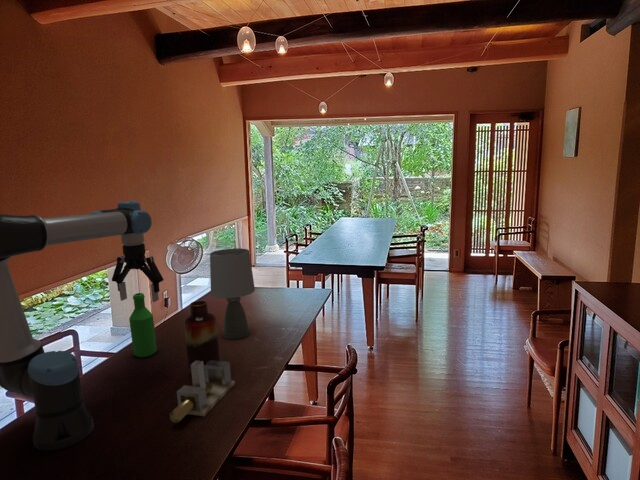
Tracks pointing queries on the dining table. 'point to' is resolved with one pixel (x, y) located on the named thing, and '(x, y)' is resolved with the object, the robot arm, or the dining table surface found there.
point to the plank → (213, 396)
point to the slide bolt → (189, 402)
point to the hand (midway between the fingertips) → (139, 300)
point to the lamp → (232, 287)
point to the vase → (201, 334)
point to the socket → (217, 371)
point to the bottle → (142, 328)
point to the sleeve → (193, 392)
